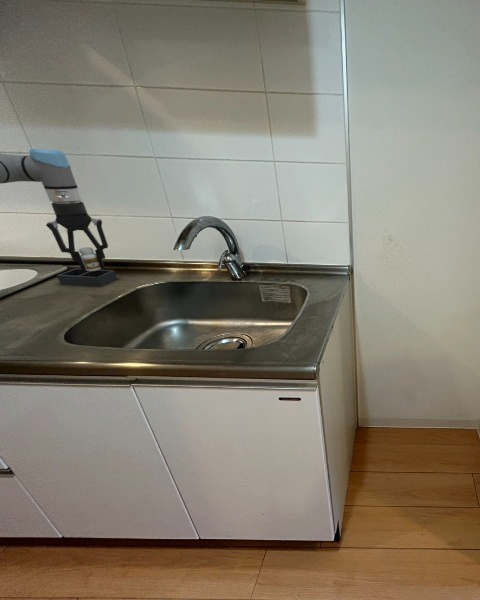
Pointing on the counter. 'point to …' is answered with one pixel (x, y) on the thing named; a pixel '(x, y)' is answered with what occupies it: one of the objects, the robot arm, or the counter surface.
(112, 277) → the grey divided tray
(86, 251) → the pill bottle
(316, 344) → the counter surface
